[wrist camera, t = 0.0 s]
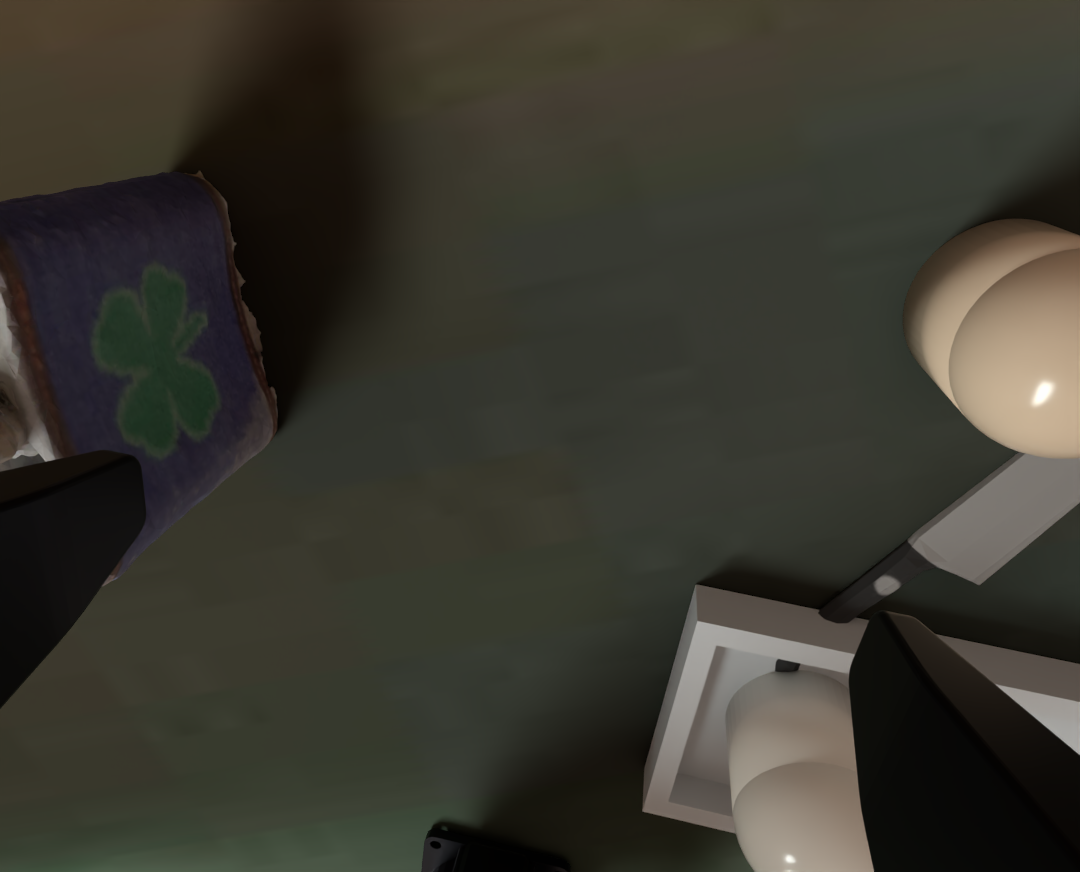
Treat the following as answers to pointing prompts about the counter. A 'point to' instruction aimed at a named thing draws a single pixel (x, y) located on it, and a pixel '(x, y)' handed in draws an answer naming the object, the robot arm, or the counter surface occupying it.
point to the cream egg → (795, 775)
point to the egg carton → (819, 646)
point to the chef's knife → (970, 533)
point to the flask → (130, 339)
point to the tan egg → (1004, 332)
